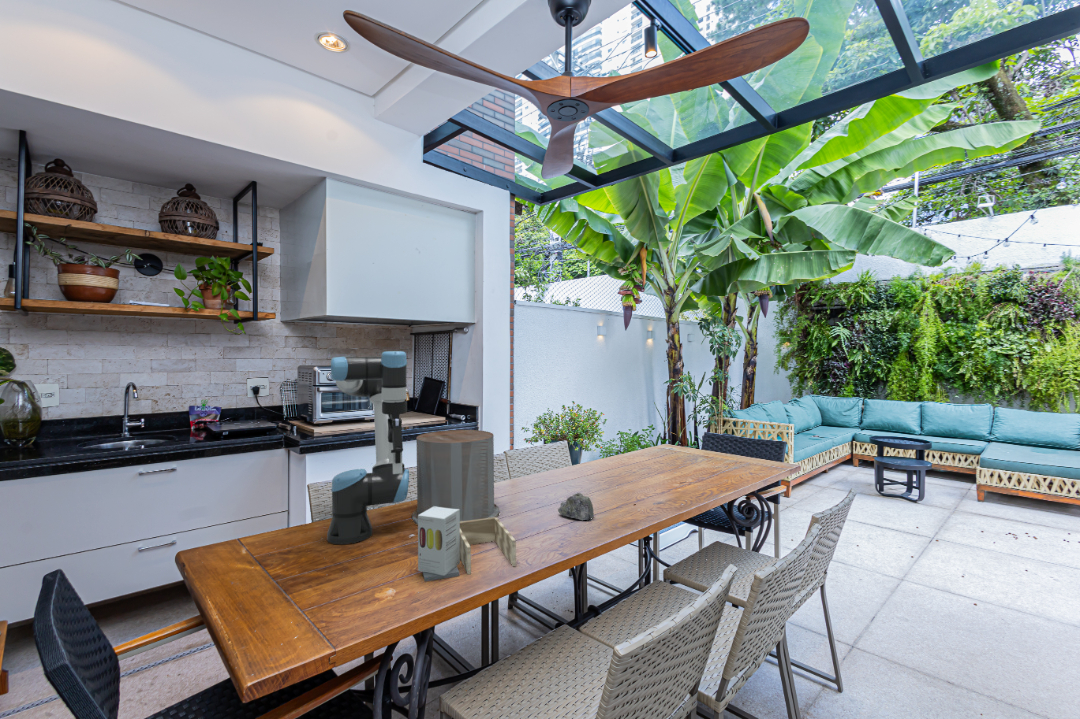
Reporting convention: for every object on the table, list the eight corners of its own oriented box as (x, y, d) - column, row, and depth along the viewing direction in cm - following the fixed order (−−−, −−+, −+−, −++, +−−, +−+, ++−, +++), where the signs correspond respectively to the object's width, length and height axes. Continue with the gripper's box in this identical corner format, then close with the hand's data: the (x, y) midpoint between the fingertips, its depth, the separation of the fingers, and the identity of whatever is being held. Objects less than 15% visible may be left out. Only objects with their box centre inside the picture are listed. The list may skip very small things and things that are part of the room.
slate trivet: (420, 567, 149) (420, 563, 149) (453, 562, 152) (453, 558, 152) (424, 581, 139) (424, 577, 139) (459, 575, 143) (459, 571, 143)
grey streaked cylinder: (427, 537, 173) (426, 447, 172) (401, 510, 203) (400, 433, 202) (514, 519, 190) (513, 437, 190) (479, 497, 221) (478, 426, 220)
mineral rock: (556, 515, 195) (556, 490, 195) (578, 510, 201) (577, 486, 201) (575, 524, 184) (574, 498, 184) (597, 519, 190) (597, 494, 190)
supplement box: (417, 571, 143) (416, 514, 143) (433, 558, 152) (433, 505, 152) (445, 576, 140) (444, 518, 140) (461, 563, 149) (460, 508, 148)
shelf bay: (453, 545, 165) (453, 522, 165) (496, 539, 170) (496, 516, 170) (467, 574, 144) (467, 547, 144) (516, 566, 149) (515, 540, 149)
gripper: (412, 405, 141) (412, 477, 142) (402, 395, 164) (402, 457, 165) (385, 406, 139) (386, 479, 140) (378, 396, 162) (379, 459, 163)
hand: (395, 467), depth 152 cm, fingers open, 13 cm apart
